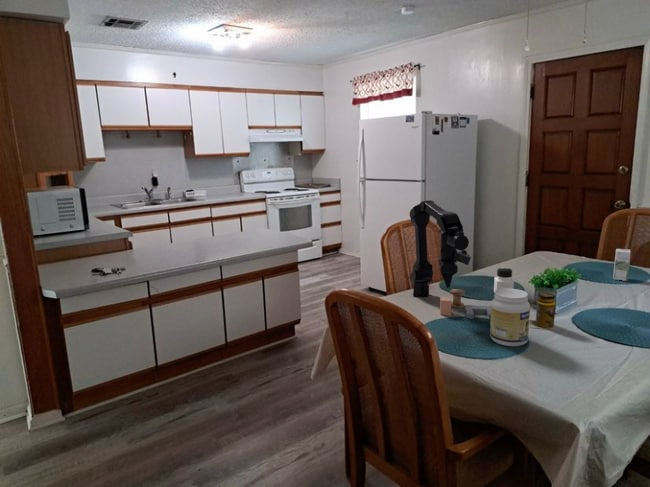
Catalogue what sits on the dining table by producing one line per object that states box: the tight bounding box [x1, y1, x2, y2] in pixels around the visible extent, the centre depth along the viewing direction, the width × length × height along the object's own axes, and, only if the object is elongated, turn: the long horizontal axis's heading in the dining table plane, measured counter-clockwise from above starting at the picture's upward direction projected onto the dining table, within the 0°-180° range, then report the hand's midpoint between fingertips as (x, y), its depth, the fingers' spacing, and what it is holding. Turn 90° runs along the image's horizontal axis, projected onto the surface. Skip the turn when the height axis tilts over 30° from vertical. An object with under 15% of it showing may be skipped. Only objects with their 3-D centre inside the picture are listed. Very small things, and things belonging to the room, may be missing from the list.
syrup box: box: [612, 248, 631, 282], centre depth 213 cm, size 6×6×14 cm
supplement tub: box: [489, 288, 531, 347], centre depth 152 cm, size 12×12×17 cm
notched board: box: [464, 304, 491, 321], centre depth 177 cm, size 10×10×2 cm
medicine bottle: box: [493, 267, 515, 294], centre depth 198 cm, size 7×7×12 cm
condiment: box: [529, 292, 557, 331], centre depth 164 cm, size 7×8×12 cm
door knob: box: [449, 288, 466, 309], centre depth 187 cm, size 6×6×6 cm
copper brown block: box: [439, 296, 452, 316], centre depth 180 cm, size 4×4×6 cm
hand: (447, 284), depth 178 cm, fingers open, 9 cm apart
